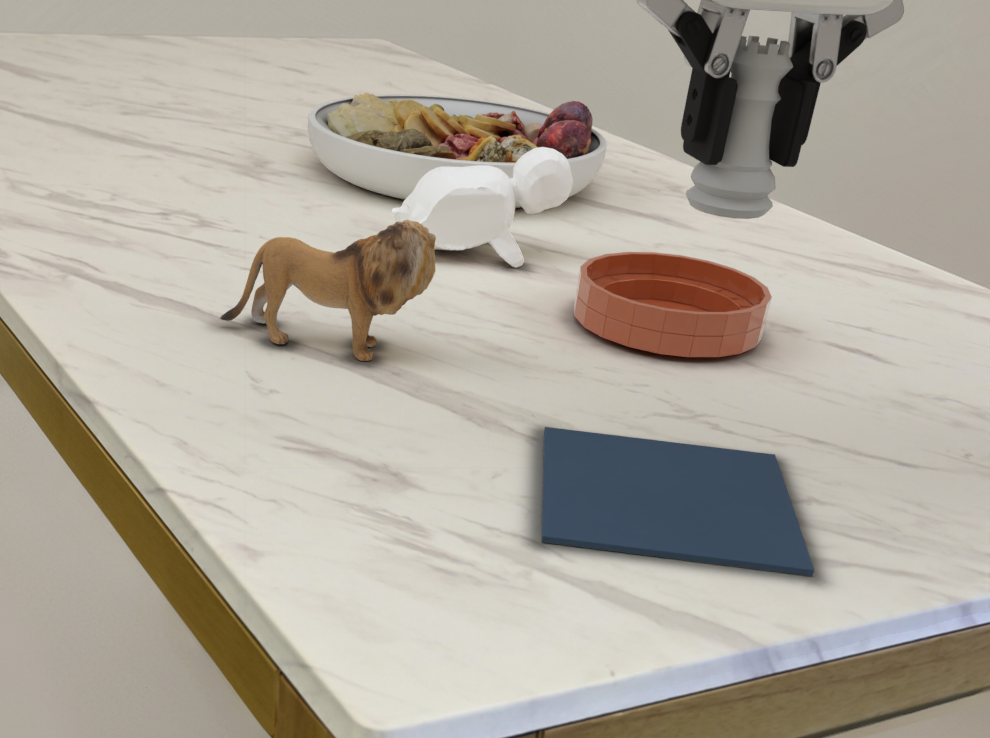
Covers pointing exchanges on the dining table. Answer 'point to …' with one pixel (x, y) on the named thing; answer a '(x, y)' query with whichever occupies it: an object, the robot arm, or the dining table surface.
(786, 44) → the rook chess piece
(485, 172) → the white animal figurine
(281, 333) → the lion figurine
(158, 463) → the dining table surface
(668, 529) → the dark blue square mat
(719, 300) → the terracotta bowl
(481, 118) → the bowl
